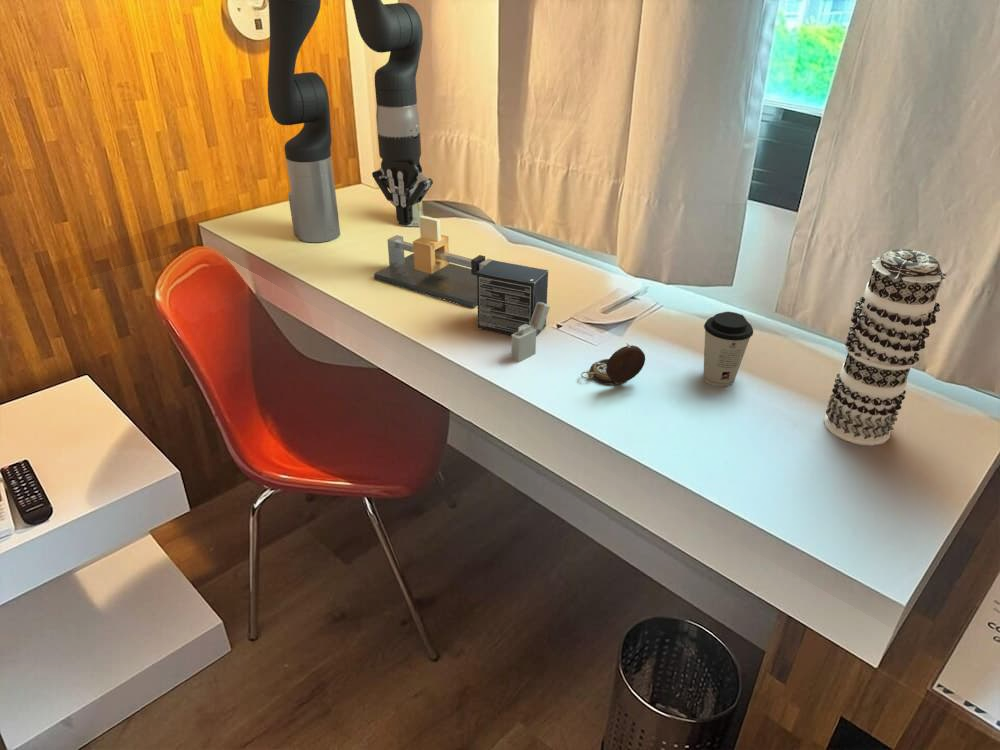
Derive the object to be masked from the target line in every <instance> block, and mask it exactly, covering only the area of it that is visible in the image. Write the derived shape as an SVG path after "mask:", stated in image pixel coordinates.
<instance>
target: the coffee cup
mask: <svg viewBox="0 0 1000 750" xmlns="http://www.w3.org/2000/svg"><path fill="white" fill-rule="evenodd" d="M703 327H704V330H705V331H704V351H703V373H702V377H703V379H704V380H705V382H706V383H708V384H710V385H713V386H716V387H729V386H732V385H733V384H734V383H735V380H736V378H737V375H738V372H739V369H740V366H741V363H742V360H743V358H744V355H745V352H746V350H747V347H748V344H749V342H750V339H751V337H752V336H753V335H754V329H753V328H754V327H752V324H751V323H750V322H749V321H748V320H747V319H746V317H745V316H744V315H743V314H742V313H741V314H740V313H738V312H732V311H723V312H719V313H716V314H714V315H713V316H711V317H709V318H708V319H707V320H706V321H705V322H704V325H703Z"/></svg>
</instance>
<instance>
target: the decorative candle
mask: <svg viewBox="0 0 1000 750" xmlns="http://www.w3.org/2000/svg"><path fill="white" fill-rule="evenodd" d="M871 266H872V267H873V268H872V270H871V275H870V279H869V281H868V282H867V283H866V287H865V290H864V293H863V295H862V296H861V297H859V299H858V300H856V301H855V306H854V308H853V309H854V310H853V312H852V316H851V319H850V321H851V322H852V324H851V325H850V326H849V331H848V333H847V337H846V341H845V343H844V346H845V349H846V351H847V355H846V359H845V361H844V362H843V364H842V367H841V370H840V372H838V373H837V374H836V378H835V379H834V384H833V388H832V390H831V392H832V393H831V394H830V396H829V400H828V404H827V406H826V409H825V416H824V420H823V423H824V424H825V427H826V429H827V430H828V431H830V432H831V433H832V434H833V435H834V436H836V437H838V438H840V439H841V440H844V441H845V442H847V443H852V444H856V445H858V446H859V445H861V446H872V447H874V446H879V445H883V444H885V443H886V442H887V441H888V440H889V439H890V437H891V431H894V425H895V424H896V423H895V422H897V421H898V417H897V416H898V415H899V412H898V411H900V410H901V409H902V403H903V401H904V400H905V399H906V389H905V388H906V387H907V383H908V376H909V374H910V371H911V368H913V367H914V366H916V365H917V363H918V362H919V361H920V354H919V353H918V352H920V350H923V349H925V348H926V341H925V339H926V338H929V337H930V330H929V328H928V327H930V326H931V325H934V324H936V323H937V320H936V318H937V315H936V313H938V312H940V311H941V308H940V306H941V305H940V303H938V302H937V297H938V293H939V290H940V287H941V284H942V280H945V279H946V278H947V277H946V276H947V273H946V272H945V271H944V270H943V268H941V266H940V263H939V261H938V260H937V259H936V258H935V257H934V256H933V255H930V254H928V253H926V252H923V251H919V250H916V249H915V250H913V249H905V248H896V249H891V250H889V251H888V252H885V253H883V254H882V255H881V256H878V257H876V258H874V259H872V260H871ZM862 304H863V305H862Z"/></svg>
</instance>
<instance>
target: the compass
mask: <svg viewBox="0 0 1000 750" xmlns="http://www.w3.org/2000/svg"><path fill="white" fill-rule="evenodd" d="M625 344H626V346H623V347H621V348H619V349H617V350H616V351H615V352H614V353H612V354H611V356H610V357H609V358H604V359H600V360H597V361H596V362H594V363H592V364H591V365H590V369H589V371H583V372H581V373H580V376H581V377H582V378H583V379H587V380H588V379H592V378H593V379H594V380H595V381H597V382H600V383H602V384H606V385H619V384H622V383H625V382H628V381H630V380H632V379H633V378H635V377H636V376H637V375H638V374H639V373H640V372H641V371H642V370H643V368H644V365H645V363H646V355H645V352H644V351H643V350H642V349H641V348H640V347H639V346H637V345H630V344H629V343H627V342H626V343H625ZM583 374H588V376H589V377H586V376H583Z"/></svg>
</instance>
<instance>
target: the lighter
mask: <svg viewBox="0 0 1000 750" xmlns="http://www.w3.org/2000/svg"><path fill="white" fill-rule="evenodd" d="M550 308H551V307H550V305H549V304H548V303H547V304H545V303H541V302H537V304H536V307H535V309H534V312H533V315H532V318H531V321H530V324H529V325H527V324H524V325H522V326H520V327H518V332H516V333H514V334H512V336H511V348H510V349H511V351H510V353H511V356H510V358H511V360H512V361H514V362H516V363H520V362H523V361H524V360H526V359H528V358H531V357H532V356H534V355H536V351H537V350H536V349H537V336H536V330H542V329H543V326H544V323H545V320H546V321H547V318H548V317H547V316H548V314H549V311H550ZM543 330H544V329H543ZM543 330H542V331H543Z"/></svg>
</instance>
